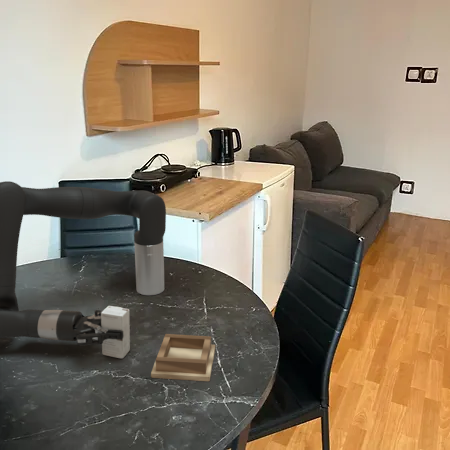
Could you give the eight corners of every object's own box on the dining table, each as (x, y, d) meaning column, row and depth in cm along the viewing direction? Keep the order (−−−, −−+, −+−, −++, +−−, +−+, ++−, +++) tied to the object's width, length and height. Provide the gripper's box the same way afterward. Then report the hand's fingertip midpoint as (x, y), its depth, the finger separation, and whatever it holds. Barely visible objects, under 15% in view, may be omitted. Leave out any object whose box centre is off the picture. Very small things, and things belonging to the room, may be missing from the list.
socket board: (162, 345, 127) (162, 331, 126) (215, 348, 126) (215, 334, 125) (151, 377, 114) (150, 362, 112) (209, 381, 113) (209, 366, 112)
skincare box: (101, 355, 122) (98, 313, 118) (110, 345, 126) (107, 304, 122) (123, 359, 120) (121, 316, 117) (131, 349, 125) (129, 308, 121)
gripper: (47, 326, 114) (117, 331, 113) (70, 299, 128) (133, 302, 126) (50, 353, 116) (118, 358, 115) (72, 323, 130) (134, 327, 129)
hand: (125, 329), depth 121 cm, fingers closed on skincare box, 5 cm apart
